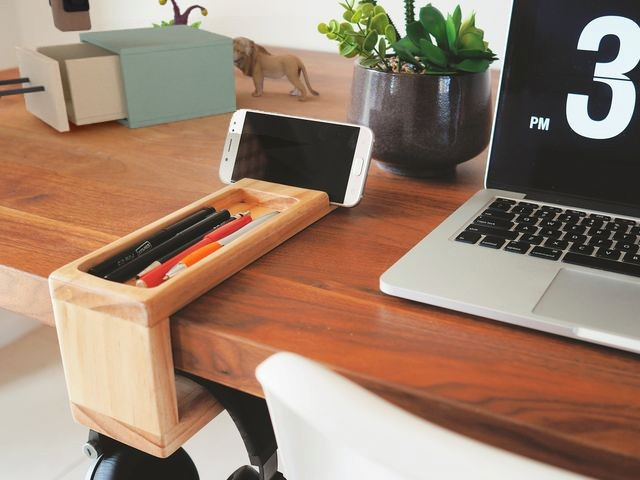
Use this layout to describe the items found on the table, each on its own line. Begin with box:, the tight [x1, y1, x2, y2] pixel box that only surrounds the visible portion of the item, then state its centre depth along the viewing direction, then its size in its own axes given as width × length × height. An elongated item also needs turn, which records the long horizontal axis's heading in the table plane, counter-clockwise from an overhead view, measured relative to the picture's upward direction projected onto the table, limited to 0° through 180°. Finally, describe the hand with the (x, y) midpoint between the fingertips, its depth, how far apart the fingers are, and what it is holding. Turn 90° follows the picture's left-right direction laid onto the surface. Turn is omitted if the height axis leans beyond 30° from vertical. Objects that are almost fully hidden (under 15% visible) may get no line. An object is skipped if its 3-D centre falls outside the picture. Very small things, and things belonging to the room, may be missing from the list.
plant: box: [151, 0, 208, 29], centre depth 144 cm, size 20×20×11 cm
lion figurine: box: [233, 36, 320, 102], centre depth 115 cm, size 15×5×9 cm, turn 82°
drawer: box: [0, 42, 127, 133], centre depth 98 cm, size 22×13×9 cm, turn 130°
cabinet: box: [78, 24, 237, 130], centre depth 106 cm, size 17×15×11 cm
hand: (69, 7), depth 94 cm, fingers closed on wooden block, 4 cm apart
